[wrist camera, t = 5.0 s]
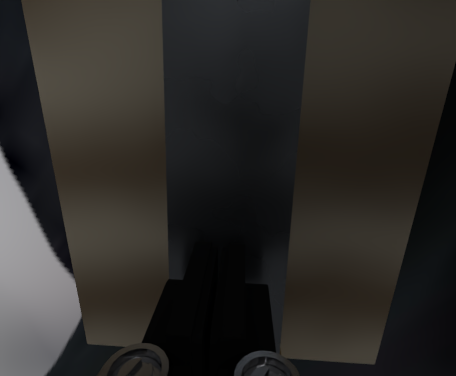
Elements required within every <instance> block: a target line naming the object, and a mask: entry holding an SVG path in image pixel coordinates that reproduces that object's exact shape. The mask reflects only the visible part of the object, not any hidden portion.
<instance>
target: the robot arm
mask: <svg viewBox="0 0 456 376" xmlns="http://www.w3.org/2000/svg"><path fill="white" fill-rule="evenodd" d="M97 376H300V375H299V373H298V371H297V369H296V367H295V366H294V365H293V364H292V363H291V362H290V361H289V360H288V359H286V358H285V357H283V356H282V355H280V354H277V353H276V347H275V338H274V330H273V321H272V313H271V304H270V296H269V288H268V284H252V283H245V243H229V247H223V248H222V255H221V262H220V269H219V276H218V246H212V242H205V241H196V242H195V244H194V247H193V250H192V254H191V257H190V260H189V263H188V266H187V269H186V272H185V275H184V278H183V280H178V279H168V280H167V282H166V284H165V286H164V289H163V291H162V294H161V296H160V299H159V301H158V303H157V306H156V308H155V311H154V313H153V316H152V318H151V321H150V323H149V325H148V328H147V330H146V333H145V335H144V338H143V340H142V343H138V344H133V345H129V346H127V347H125V348H122V349H120V350H119V351H118V352H116V353H115V354H114V355H112V356H111V357H110V358H109V360H108V361H107V362H106V363H105V364H104V366H103V367H102V369H101V370H100V372H99V373H98V374H97Z"/></svg>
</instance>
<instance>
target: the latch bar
mask: <svg viewBox="0 0 456 376" xmlns="http://www.w3.org/2000/svg"><path fill="white" fill-rule="evenodd" d="M310 1H311V0H162V33H163V71H164V108H165V146H166V183H167V221H168V258H169V279H178V280H183V278H184V275H185V272H186V269H187V266H188V263H189V260H190V257H191V254H192V250H193V247H194V244H195V242H196V241H205V242H212V246H218V276H219V269H220V262H221V255H222V248H223V247H229V243H245V283H252V284H268V288H269V296H270V304H271V313H272V321H273V330H274V338H275V347H276V353H277V354H280V343H281V332H282V320H283V309H284V298H285V286H286V275H287V263H288V252H289V241H290V229H291V218H292V206H293V195H294V183H295V172H296V161H297V149H298V138H299V126H300V115H301V104H302V92H303V81H304V69H305V58H306V47H307V35H308V24H309V12H310Z"/></svg>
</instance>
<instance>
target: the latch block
mask: <svg viewBox="0 0 456 376" xmlns="http://www.w3.org/2000/svg"><path fill="white" fill-rule="evenodd" d="M21 1H22V7H23V12H24V17H25V22H26V27H27V32H28V38H29V43H30V48H31V53H32V58H33V64H34V69H35V74H36V79H37V84H38V90H39V95H40V100H41V105H42V110H43V116H44V121H45V126H46V131H47V136H48V142H49V147H50V152H51V157H52V162H53V168H54V173H55V178H56V183H57V188H58V194H59V199H60V204H61V209H62V214H63V220H64V225H65V230H66V235H67V240H68V245H69V251H70V256H71V261H72V266H73V271H74V277H75V282H76V287H77V292H78V297H79V303H80V308H81V313H82V318H83V323H84V329H85V334H86V339H87V344H95V345H109V346H123V347H127V346H129V345H133V344H138V343H142V340H143V338H144V335H145V333H146V330H147V328H148V325H149V323H150V321H151V318H152V316H153V313H154V311H155V308H156V306H157V303H158V301H159V299H160V296H161V294H162V291H163V289H164V286H165V284H166V282H167V280H168V279H169V258H168V221H167V183H166V146H165V108H164V71H163V33H162V0H21ZM455 62H456V0H311V1H310V12H309V24H308V35H307V47H306V58H305V69H304V81H303V92H302V104H301V115H300V126H299V138H298V149H297V161H296V172H295V183H294V195H293V206H292V218H291V229H290V241H289V252H288V263H287V275H286V286H285V298H284V309H283V320H282V332H281V343H280V355H282V356H283V357H285V358H291V359H305V360H319V361H333V362H347V363H361V364H375V361H376V358H377V354H378V350H379V346H380V343H381V339H382V335H383V332H384V328H385V324H386V320H387V317H388V313H389V309H390V305H391V302H392V298H393V294H394V290H395V287H396V283H397V279H398V275H399V272H400V268H401V264H402V261H403V257H404V253H405V249H406V246H407V242H408V238H409V234H410V231H411V227H412V223H413V219H414V216H415V212H416V208H417V204H418V201H419V197H420V193H421V190H422V186H423V182H424V178H425V175H426V171H427V167H428V163H429V160H430V156H431V152H432V148H433V145H434V141H435V137H436V133H437V130H438V126H439V122H440V119H441V115H442V111H443V107H444V104H445V100H446V96H447V92H448V89H449V85H450V81H451V77H452V74H453V70H454V66H455Z"/></svg>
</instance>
